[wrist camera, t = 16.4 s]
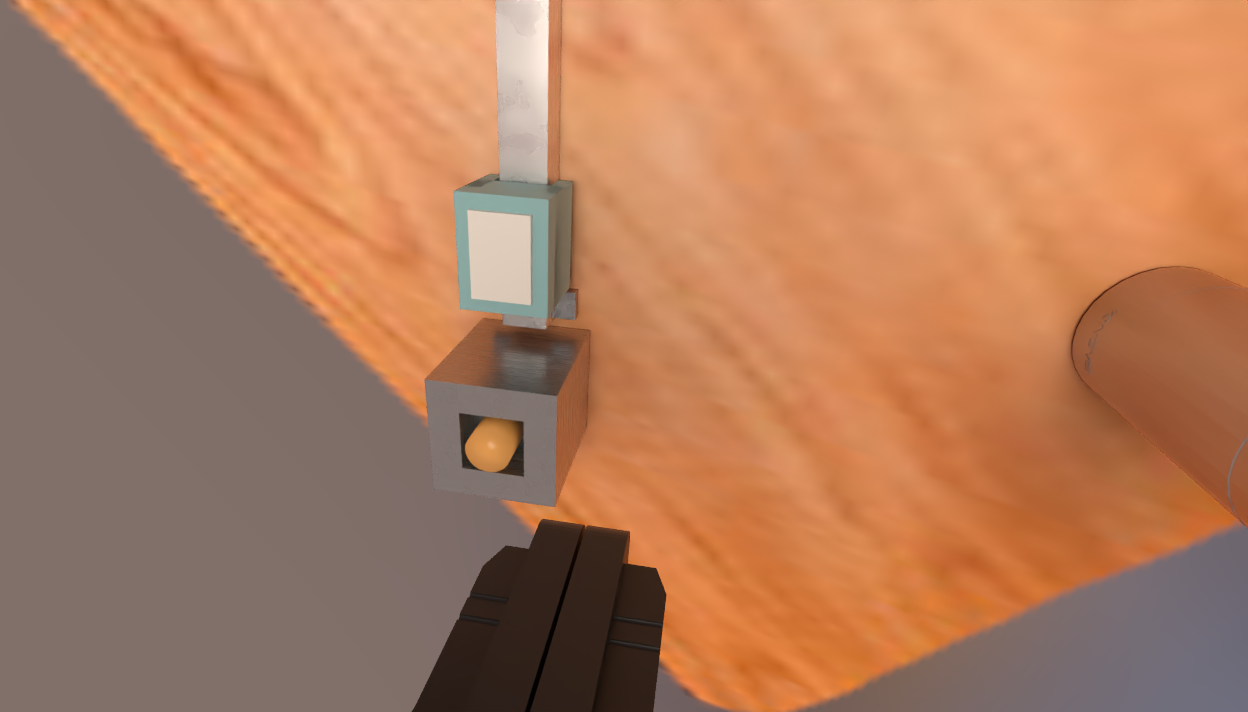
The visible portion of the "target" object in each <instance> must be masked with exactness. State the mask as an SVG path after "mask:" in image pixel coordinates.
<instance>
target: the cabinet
mask: <svg viewBox="0 0 1248 712" xmlns="http://www.w3.org/2000/svg"><path fill="white" fill-rule="evenodd" d="M589 353H590V330H582V329H573V328H564V327H555V326H548V327H547V329H546V330H545V329H537V328H528V327H519V326H511V325H503V320H494V319H485V318H483V319H482V320H481V321H480V322H479V323H478V324H477V325H476V326H475V327H474V328H473V330H472V331H471V332H470V333H469V334H468V335H467V336H466V337H465V338H464V339H463V340H462V341H461V342H460V343H459V344H458V345H457V346H456V347H455V348H454V349H453V350H452V351H451V353H450V354H449V355H448V356H447V357H446V358H445V359H444V360H443V361H442V362H441V363H440V364H439V365H438V366H437V367H436V368H435V369H434V370H433V371H432V372H431V373H430V374H429V376H428V377H427V378H426V379H425V390H426V401H427V413H428V425H429V437H430V449H431V460H432V472H433V483H434V489H435V490H442V491H448V492H455V493H461V494H468V495H475V496H482V497H489V498H496V499H503V500H510V501H516V502H523V503H530V504H537V505H544V506H551V507H555V506H556V503H557V501H558V498H559V496H560V493H561V490H562V488H563V485H564V483H565V480H566V477H567V475H568V472H569V470H570V467H571V464H572V462H573V459H574V457H575V454H576V452H577V449H578V446H579V444H580V441H581V439H582V436H583V433H584V431H585V428H586V426H587V402H588V378H589ZM484 416H485V417H493V418H500V419H508V420H516V421H523V422H524V436H523V438H522V439H521V441H520V443H519V445H518V447H517V449H516V450H515V452H514V454H513V456H512V458H511V460H510V461H509V463H508V465H507V466H506V467H505V468H504V469H502V470H500V471H497V472H486V471H483V470H480V469H478V468H477V467H475V466H474V465H473V464H472V463H471V462H470V461H469V459H468V458H467V455H466V452H465V445H466V442H467V440H468V439H469V437H470V436H471V435H472V433H473V432H474V430H475V429H476V427H477V426H478V424H479V423H480V421H481V420H482V419H483V417H484Z"/></svg>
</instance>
